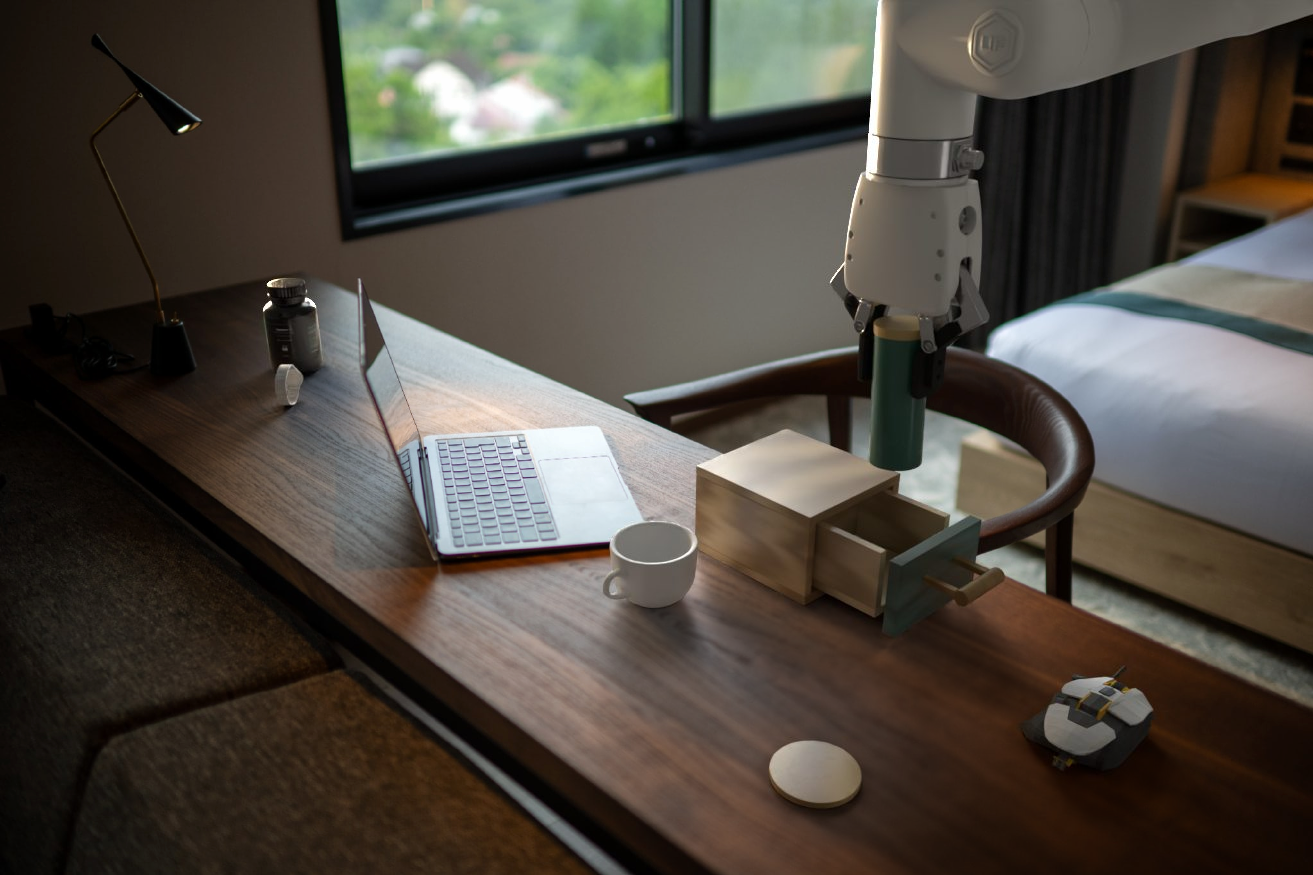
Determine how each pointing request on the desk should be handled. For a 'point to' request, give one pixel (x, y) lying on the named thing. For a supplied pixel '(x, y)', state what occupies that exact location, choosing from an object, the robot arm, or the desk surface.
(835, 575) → the drawer
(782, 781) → the coaster
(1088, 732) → the computer mouse
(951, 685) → the desk surface
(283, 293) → the supplement bottle
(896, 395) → the tin
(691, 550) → the teacup
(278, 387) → the white thick rounded piece
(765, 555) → the cabinet
